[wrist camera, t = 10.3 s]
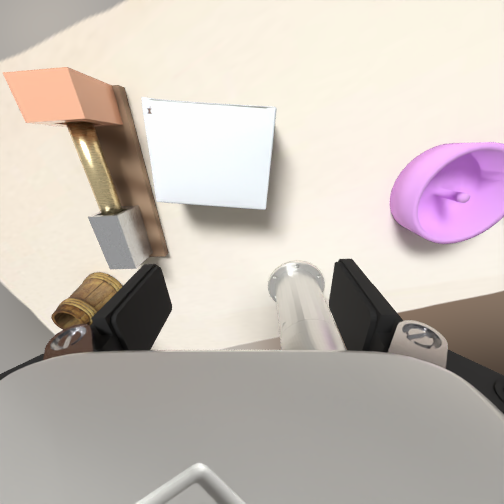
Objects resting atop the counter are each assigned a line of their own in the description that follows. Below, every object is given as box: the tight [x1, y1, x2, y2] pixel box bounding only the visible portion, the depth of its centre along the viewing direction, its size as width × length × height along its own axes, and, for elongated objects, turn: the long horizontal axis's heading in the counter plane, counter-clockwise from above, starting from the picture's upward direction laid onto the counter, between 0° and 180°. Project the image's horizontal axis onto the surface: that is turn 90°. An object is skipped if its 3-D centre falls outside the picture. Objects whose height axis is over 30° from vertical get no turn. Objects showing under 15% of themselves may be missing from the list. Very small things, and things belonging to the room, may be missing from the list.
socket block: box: [3, 67, 123, 127], centre depth 29 cm, size 5×8×8 cm, turn 93°
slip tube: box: [66, 121, 123, 215], centre depth 33 cm, size 20×3×3 cm, turn 3°
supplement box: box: [142, 97, 276, 210], centre depth 32 cm, size 17×13×9 cm
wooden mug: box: [52, 272, 122, 330], centre depth 43 cm, size 9×14×18 cm, turn 27°
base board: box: [95, 85, 168, 257], centre depth 38 cm, size 29×10×2 cm, turn 3°
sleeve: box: [88, 205, 153, 269], centre depth 38 cm, size 10×5×6 cm, turn 3°
